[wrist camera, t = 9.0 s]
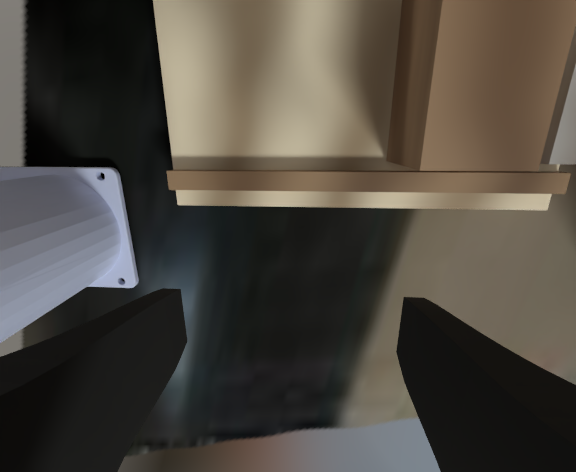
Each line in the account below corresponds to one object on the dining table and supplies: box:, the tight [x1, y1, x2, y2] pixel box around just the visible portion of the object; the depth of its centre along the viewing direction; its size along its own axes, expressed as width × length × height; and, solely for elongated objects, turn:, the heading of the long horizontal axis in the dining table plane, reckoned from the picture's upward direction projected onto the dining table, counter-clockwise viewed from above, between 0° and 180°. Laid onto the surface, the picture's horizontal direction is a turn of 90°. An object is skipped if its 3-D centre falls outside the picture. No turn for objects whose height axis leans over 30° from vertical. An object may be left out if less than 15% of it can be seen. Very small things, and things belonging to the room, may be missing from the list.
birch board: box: [153, 0, 576, 210], centre depth 14 cm, size 20×14×4 cm
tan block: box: [386, 0, 576, 171], centre depth 11 cm, size 4×10×5 cm, turn 0°
